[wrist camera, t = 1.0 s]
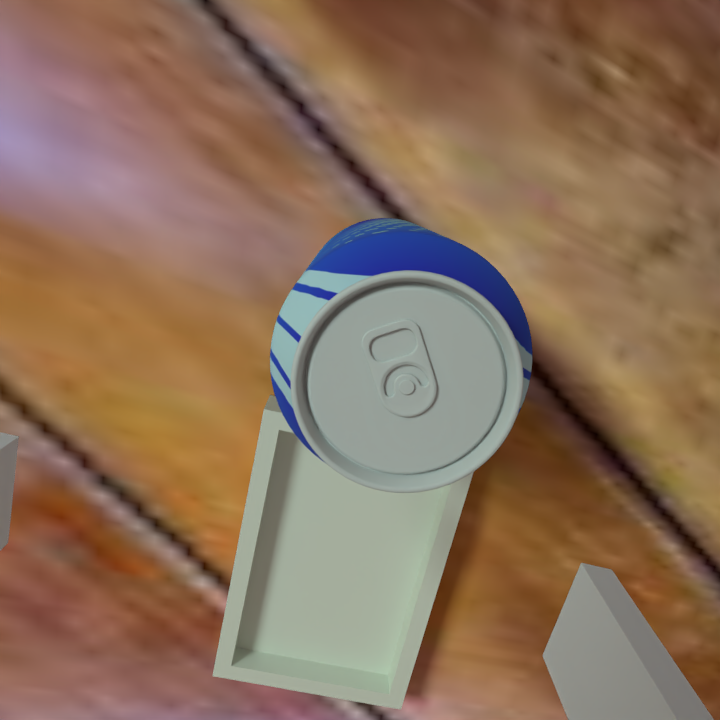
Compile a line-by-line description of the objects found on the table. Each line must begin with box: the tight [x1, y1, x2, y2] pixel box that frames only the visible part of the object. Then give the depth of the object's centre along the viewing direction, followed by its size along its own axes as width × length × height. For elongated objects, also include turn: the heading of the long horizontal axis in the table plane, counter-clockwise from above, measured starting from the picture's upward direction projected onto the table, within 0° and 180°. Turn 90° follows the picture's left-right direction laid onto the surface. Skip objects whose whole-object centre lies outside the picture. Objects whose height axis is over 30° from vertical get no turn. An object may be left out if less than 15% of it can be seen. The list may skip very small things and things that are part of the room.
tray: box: [213, 395, 474, 709], centre depth 35 cm, size 18×12×2 cm, turn 167°
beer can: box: [270, 218, 532, 493], centre depth 24 cm, size 8×8×16 cm
